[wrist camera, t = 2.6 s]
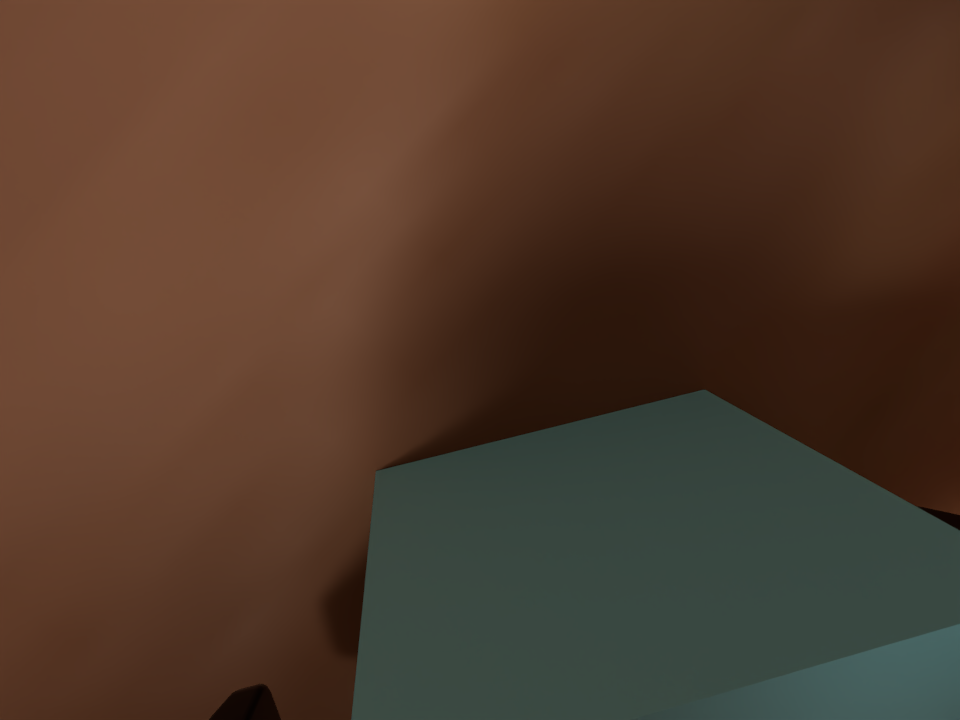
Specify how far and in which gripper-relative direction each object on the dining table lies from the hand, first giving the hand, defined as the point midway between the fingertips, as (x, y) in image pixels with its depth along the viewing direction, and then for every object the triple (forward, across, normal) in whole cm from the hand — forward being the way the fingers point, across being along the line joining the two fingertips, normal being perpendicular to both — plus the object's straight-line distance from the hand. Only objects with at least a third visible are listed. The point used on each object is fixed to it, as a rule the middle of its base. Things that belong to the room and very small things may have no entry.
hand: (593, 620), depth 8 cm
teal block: (+1, 0, 0) cm, 1 cm away
